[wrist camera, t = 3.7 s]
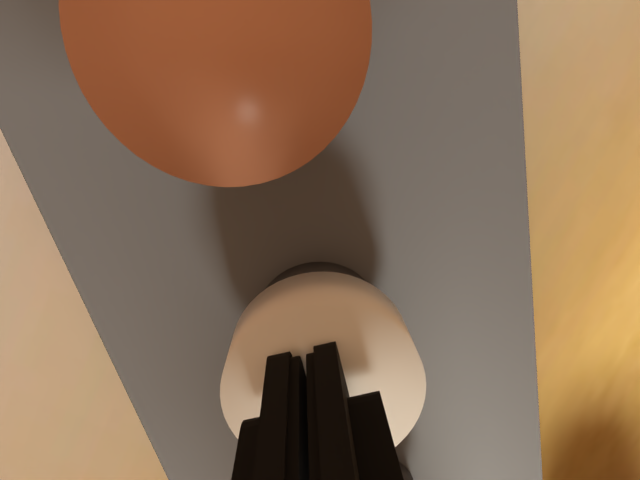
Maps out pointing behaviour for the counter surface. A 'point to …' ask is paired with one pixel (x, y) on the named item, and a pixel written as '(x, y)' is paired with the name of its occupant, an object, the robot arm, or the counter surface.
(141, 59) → the terracotta button
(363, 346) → the white button
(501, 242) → the button panel
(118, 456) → the counter surface
